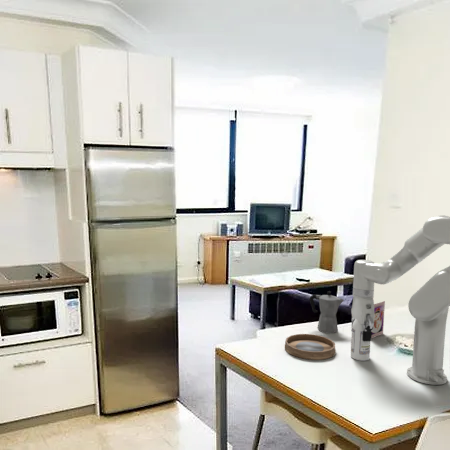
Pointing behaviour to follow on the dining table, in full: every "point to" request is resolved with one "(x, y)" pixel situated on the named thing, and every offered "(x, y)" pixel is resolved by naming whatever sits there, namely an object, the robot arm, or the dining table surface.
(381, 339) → the dining table surface
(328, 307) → the coffeepot
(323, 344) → the round tray
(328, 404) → the dining table surface
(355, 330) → the bath foam
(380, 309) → the greeting card
